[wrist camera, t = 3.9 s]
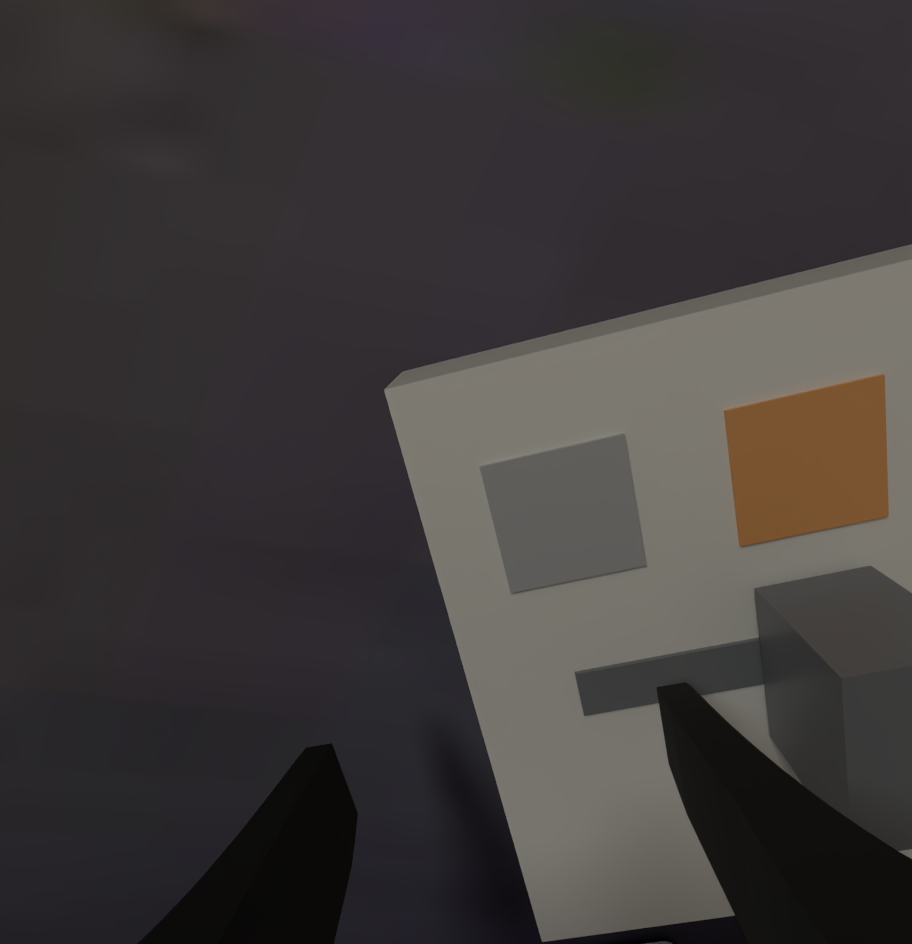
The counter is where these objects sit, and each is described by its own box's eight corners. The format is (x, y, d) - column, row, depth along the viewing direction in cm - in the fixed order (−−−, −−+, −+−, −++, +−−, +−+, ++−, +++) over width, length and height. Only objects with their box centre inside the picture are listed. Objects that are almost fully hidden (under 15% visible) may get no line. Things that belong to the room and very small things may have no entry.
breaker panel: (980, 772, 17) (1086, 871, 14) (531, 842, 19) (542, 946, 16) (994, 223, 13) (1152, 200, 10) (402, 371, 14) (383, 390, 11)
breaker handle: (876, 717, 13) (991, 838, 10) (770, 736, 13) (852, 857, 10) (870, 565, 12) (998, 650, 9) (754, 588, 12) (841, 678, 9)
